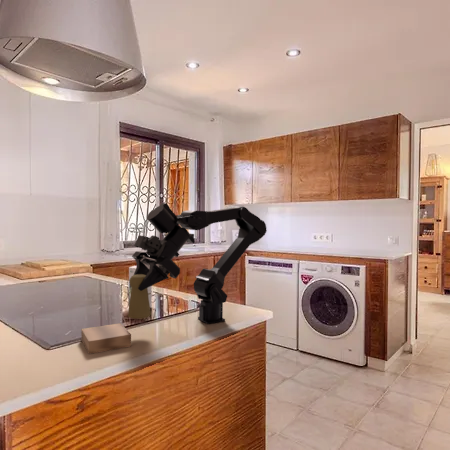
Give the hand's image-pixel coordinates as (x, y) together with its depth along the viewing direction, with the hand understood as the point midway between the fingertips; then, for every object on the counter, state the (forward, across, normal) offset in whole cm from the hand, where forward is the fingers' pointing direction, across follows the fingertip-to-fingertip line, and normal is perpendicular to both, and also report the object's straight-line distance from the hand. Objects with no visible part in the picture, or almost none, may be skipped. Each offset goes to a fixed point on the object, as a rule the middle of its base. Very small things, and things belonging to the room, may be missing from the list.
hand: (134, 287), depth 94 cm
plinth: (+15, 0, +4) cm, 15 cm away
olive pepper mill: (+5, 0, +6) cm, 8 cm away
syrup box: (0, -26, +19) cm, 32 cm away
